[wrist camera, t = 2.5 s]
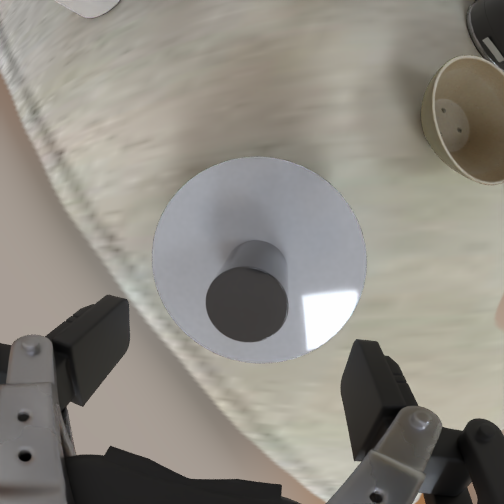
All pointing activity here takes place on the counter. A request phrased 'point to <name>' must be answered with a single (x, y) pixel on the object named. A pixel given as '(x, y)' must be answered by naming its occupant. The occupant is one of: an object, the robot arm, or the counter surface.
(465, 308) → the counter surface
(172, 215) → the lid
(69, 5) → the can
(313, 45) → the counter surface
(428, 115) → the flower pot
